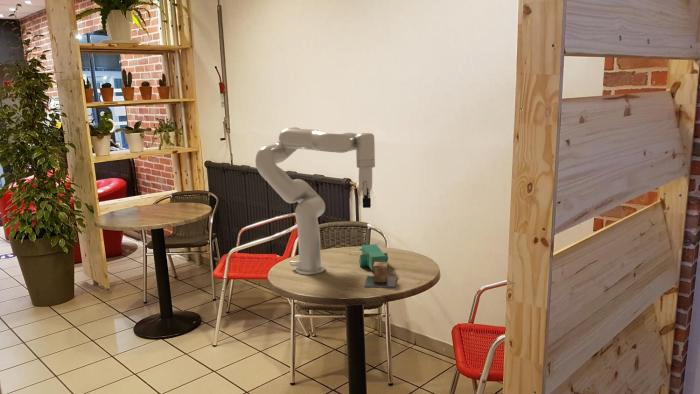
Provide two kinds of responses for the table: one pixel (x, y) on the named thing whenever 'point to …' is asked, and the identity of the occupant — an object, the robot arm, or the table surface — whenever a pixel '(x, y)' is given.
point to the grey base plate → (389, 284)
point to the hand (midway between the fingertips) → (366, 207)
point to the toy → (371, 255)
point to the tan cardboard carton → (380, 271)
